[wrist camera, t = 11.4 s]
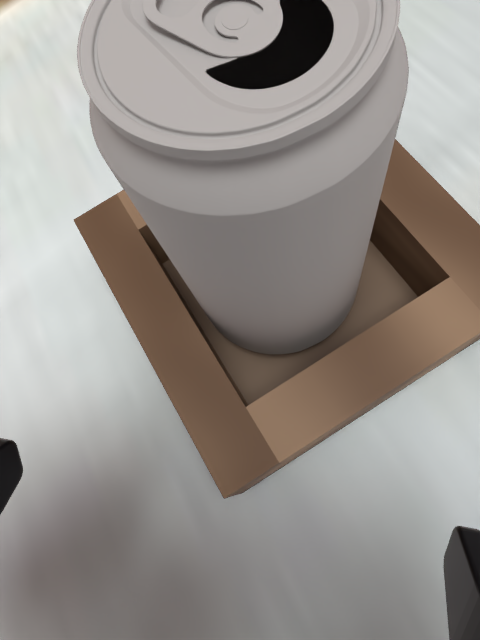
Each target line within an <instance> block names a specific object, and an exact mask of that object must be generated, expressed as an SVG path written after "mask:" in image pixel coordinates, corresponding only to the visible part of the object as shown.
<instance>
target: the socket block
mask: <svg viewBox="0 0 480 640" xmlns="http://www.w3.org/2000/svg"><path fill="white" fill-rule="evenodd" d="M74 222H75V224H76V226H77V227H78V229H79V231H80V233H81V235H82V237H83V238H84V240H85V242H86V244H87V246H88V248H89V250H90V251H91V253H92V255H93V257H94V259H95V261H96V263H97V264H98V266H99V268H100V270H101V272H102V274H103V276H104V277H105V279H106V281H107V283H108V285H109V287H110V288H111V290H112V292H113V294H114V296H115V298H116V300H117V301H118V303H119V305H120V307H121V309H122V311H123V313H124V314H125V316H126V318H127V320H128V322H129V324H130V326H131V327H132V329H133V331H134V333H135V335H136V337H137V338H138V340H139V342H140V344H141V346H142V348H143V350H144V351H145V353H146V355H147V357H148V359H149V361H150V363H151V364H152V366H153V368H154V370H155V372H156V374H157V375H158V377H159V379H160V381H161V383H162V385H163V387H164V388H165V390H166V392H167V394H168V396H169V398H170V400H171V401H172V403H173V405H174V407H175V409H176V411H177V413H178V414H179V416H180V418H181V420H182V422H183V424H184V425H185V427H186V429H187V431H188V433H189V435H190V437H191V438H192V440H193V442H194V444H195V446H196V448H197V450H198V451H199V453H200V455H201V457H202V459H203V461H204V463H205V464H206V466H207V468H208V470H209V472H210V474H211V475H212V477H213V479H214V481H215V483H216V485H217V487H218V488H219V490H220V492H221V494H222V496H223V498H228V497H231V496H234V495H237V494H241V493H243V492H245V491H246V490H248V489H249V488H251V487H252V486H254V485H255V484H257V483H259V482H260V481H262V480H263V479H265V478H266V477H268V476H269V475H271V474H272V473H274V472H276V471H277V470H279V469H280V468H282V467H283V466H285V465H286V464H288V463H289V462H291V461H292V460H294V459H296V458H297V457H299V456H300V455H302V454H303V453H305V452H306V451H308V450H309V449H311V448H313V447H314V446H316V445H317V444H319V443H320V442H322V441H323V440H325V439H326V438H328V437H329V436H331V435H333V434H334V433H336V432H337V431H339V430H340V429H342V428H343V427H345V426H346V425H348V424H350V423H351V422H353V421H354V420H356V419H357V418H359V417H360V416H362V415H363V414H365V413H366V412H368V411H370V410H371V409H373V408H374V407H376V406H377V405H379V404H380V403H382V402H383V401H385V400H387V399H388V398H390V397H391V396H393V395H394V394H396V393H397V392H399V391H400V390H402V389H403V388H405V387H407V386H408V385H410V384H411V383H413V382H414V381H416V380H417V379H419V378H420V377H422V376H424V375H425V374H427V373H428V372H430V371H431V370H433V369H434V368H436V367H437V366H439V365H441V364H442V363H444V362H445V361H447V360H448V359H450V358H451V357H453V356H454V355H456V354H457V353H459V352H461V351H462V350H464V349H465V348H467V347H468V346H470V345H471V344H473V343H474V342H476V341H478V340H479V339H480V225H479V224H478V223H477V222H476V221H475V220H474V219H473V218H472V217H471V216H470V215H469V214H468V213H467V212H466V211H465V210H464V209H463V208H462V207H461V206H460V205H459V204H458V203H457V202H456V201H455V200H454V198H453V197H452V196H451V195H450V194H449V193H448V192H447V191H446V190H445V189H444V188H443V187H442V186H441V185H440V184H439V183H438V182H437V181H436V180H435V179H434V178H433V177H432V176H431V175H430V174H429V173H428V172H427V171H426V170H425V169H424V168H423V167H422V166H421V165H420V164H419V163H418V162H417V161H416V160H415V159H414V158H413V157H412V156H411V155H410V154H409V153H408V152H407V151H406V150H405V149H404V148H403V147H402V145H401V144H400V143H399V142H398V141H397V140H396V139H395V141H394V145H393V149H392V153H391V157H390V161H389V165H388V169H387V173H386V177H385V181H384V185H383V189H382V193H381V197H380V201H379V205H378V209H377V213H376V217H375V221H374V225H373V229H372V233H371V237H370V241H369V245H368V249H367V253H366V257H365V261H364V265H363V269H362V273H361V277H360V281H359V285H358V289H357V293H356V297H355V300H354V303H353V305H352V307H351V309H350V311H349V313H348V315H347V316H346V318H345V319H344V321H343V322H342V323H341V325H340V326H339V327H338V328H337V329H336V330H335V331H334V332H333V333H332V334H331V335H329V336H328V337H327V338H326V339H324V340H323V341H321V342H319V343H317V344H315V345H313V346H311V347H309V348H307V349H304V350H302V351H298V352H294V353H288V354H263V353H258V352H254V351H250V350H247V349H245V348H242V347H240V346H238V345H236V344H235V343H233V342H231V341H230V340H228V339H227V338H226V337H225V336H223V335H222V334H221V333H220V332H219V331H218V330H217V329H216V328H215V326H214V325H213V324H212V322H211V321H210V320H209V318H208V316H207V315H206V313H205V312H204V310H203V309H202V307H201V306H200V304H199V303H198V301H197V300H196V298H195V297H194V295H193V294H192V292H191V291H190V289H189V288H188V286H187V285H186V283H185V282H184V280H183V278H182V277H181V275H180V274H179V272H178V271H177V269H176V268H175V266H174V265H173V263H172V262H171V260H170V259H169V257H168V256H167V254H166V253H165V251H164V250H163V248H162V247H161V245H160V244H159V242H158V241H157V239H156V237H155V236H154V234H153V233H152V231H151V230H150V228H149V227H148V225H147V224H146V222H145V221H144V219H143V218H142V216H141V215H140V213H139V212H138V210H137V209H136V207H135V206H134V204H133V203H132V201H131V199H130V198H129V196H128V195H127V193H126V192H125V190H122V191H121V192H119V193H117V194H116V195H114V196H112V197H111V198H109V199H107V200H106V201H104V202H102V203H101V204H99V205H97V206H96V207H94V208H92V209H91V210H89V211H87V212H86V213H84V214H82V215H81V216H79V217H77V218H76V219H74Z"/></svg>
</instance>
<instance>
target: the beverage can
mask: <svg viewBox="0 0 480 640" xmlns="http://www.w3.org/2000/svg"><path fill="white" fill-rule="evenodd" d="M399 14H400V0H92V2H91V3H90V5H89V7H88V9H87V12H86V14H85V17H84V19H83V22H82V25H81V29H80V33H79V38H78V46H77V59H78V68H79V72H80V76H81V79H82V82H83V85H84V87H85V89H86V91H87V93H88V95H89V97H90V122H91V127H92V132H93V136H94V139H95V142H96V144H97V147H98V149H99V151H100V153H101V155H102V156H103V158H104V160H105V161H106V163H107V165H108V166H109V168H110V169H111V171H112V172H113V174H114V175H115V177H116V178H117V180H118V181H119V183H120V184H121V186H122V187H123V189H124V190H125V192H126V193H127V195H128V196H129V198H130V199H131V201H132V203H133V204H134V206H135V207H136V209H137V210H138V212H139V213H140V215H141V216H142V218H143V219H144V221H145V222H146V224H147V225H148V227H149V228H150V230H151V231H152V233H153V234H154V236H155V237H156V239H157V241H158V242H159V244H160V245H161V247H162V248H163V250H164V251H165V253H166V254H167V256H168V257H169V259H170V260H171V262H172V263H173V265H174V266H175V268H176V269H177V271H178V272H179V274H180V275H181V277H182V278H183V280H184V282H185V283H186V285H187V286H188V288H189V289H190V291H191V292H192V294H193V295H194V297H195V298H196V300H197V301H198V303H199V304H200V306H201V307H202V309H203V310H204V312H205V313H206V315H207V316H208V318H209V320H210V321H211V322H212V324H213V325H214V326H215V328H216V329H217V330H218V331H219V332H220V333H221V334H222V335H223V336H225V337H226V338H227V339H228V340H230V341H231V342H233V343H235V344H236V345H238V346H240V347H242V348H245V349H247V350H250V351H254V352H258V353H263V354H288V353H294V352H298V351H302V350H304V349H307V348H309V347H311V346H313V345H315V344H317V343H319V342H321V341H323V340H324V339H326V338H327V337H328V336H329V335H331V334H332V333H333V332H334V331H335V330H336V329H337V328H338V327H339V326H340V325H341V323H342V322H343V321H344V319H345V318H346V316H347V315H348V313H349V311H350V309H351V307H352V305H353V303H354V300H355V297H356V293H357V289H358V285H359V281H360V277H361V273H362V269H363V265H364V261H365V257H366V253H367V249H368V245H369V241H370V237H371V233H372V229H373V225H374V221H375V217H376V213H377V209H378V205H379V201H380V197H381V193H382V189H383V185H384V181H385V177H386V173H387V169H388V165H389V161H390V157H391V153H392V149H393V145H394V141H395V137H396V133H397V129H398V124H399V120H400V116H401V112H402V108H403V104H404V100H405V96H406V91H407V84H408V73H409V67H408V57H407V51H406V46H405V42H404V40H403V37H402V34H401V32H400V30H399V28H398V22H399Z"/></svg>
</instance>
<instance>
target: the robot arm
mask: <svg viewBox="0 0 480 640" xmlns="http://www.w3.org/2000/svg"><path fill="white" fill-rule="evenodd" d="M22 473H23V466H22V463H21V459H20V455H19V452H18V448H17V445H16V443H15V442H14V441H12V440H8V439H3V438H0V514H1V513H2V511H3V509H4V507H5V506H6V504H7V502H8V500H9V499H10V497H11V495H12V493H13V492H14V490H15V488H16V486H17V485H18V483H19V481H20V479H21V476H22ZM444 578H445V590H446V603H447V615H448V627H449V639H450V640H480V531H479V530H477V529H473V528H468V527H462V526H456V527H455V528H454V530H453V532H452V535H451V538H450V541H449V544H448V546H447V549H446V552H445V556H444Z"/></svg>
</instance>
